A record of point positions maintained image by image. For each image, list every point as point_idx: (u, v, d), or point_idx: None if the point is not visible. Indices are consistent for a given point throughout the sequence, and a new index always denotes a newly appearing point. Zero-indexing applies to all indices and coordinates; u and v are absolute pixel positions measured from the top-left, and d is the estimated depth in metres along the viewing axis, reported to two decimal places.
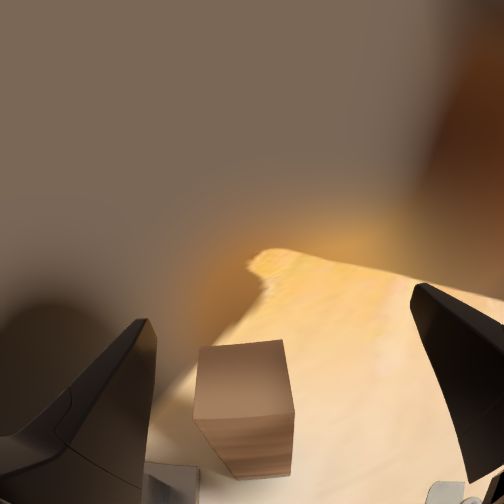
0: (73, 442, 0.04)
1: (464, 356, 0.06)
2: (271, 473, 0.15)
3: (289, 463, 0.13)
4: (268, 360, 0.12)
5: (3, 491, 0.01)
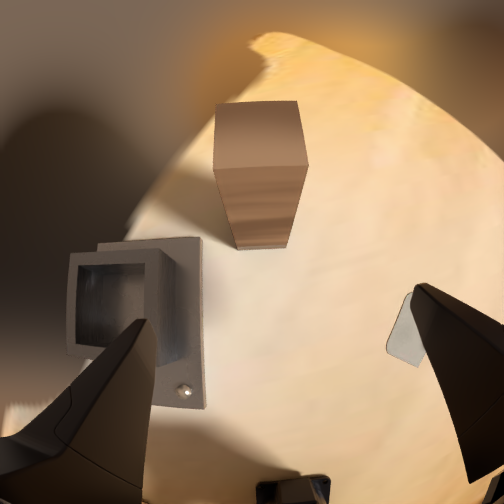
0: (73, 442, 0.04)
1: (464, 356, 0.06)
2: (270, 242, 0.22)
3: (289, 230, 0.19)
4: (284, 117, 0.12)
5: (3, 491, 0.01)
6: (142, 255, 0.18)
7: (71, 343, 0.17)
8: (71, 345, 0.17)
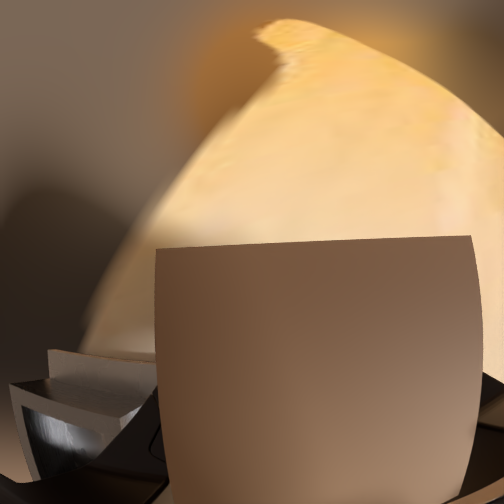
0: None
1: None
2: None
3: None
4: (442, 336, 0.03)
5: None
6: (97, 422, 0.09)
7: None
8: None
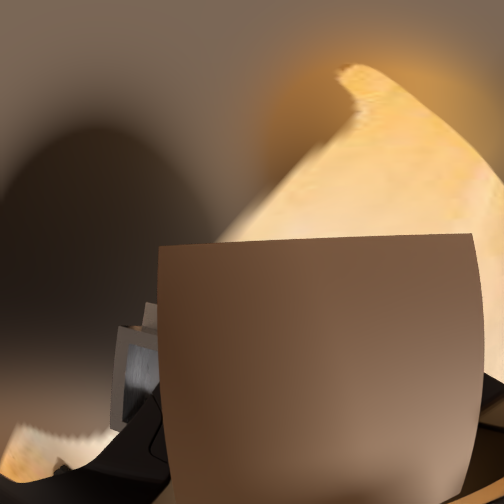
0: None
1: None
2: None
3: None
4: (445, 333, 0.03)
5: None
6: None
7: (117, 419, 0.15)
8: (117, 422, 0.15)
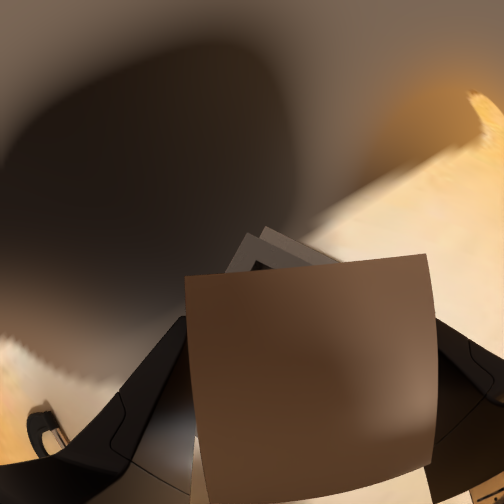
0: (133, 455, 0.04)
1: None
2: None
3: None
4: (399, 332, 0.04)
5: None
6: None
7: None
8: None
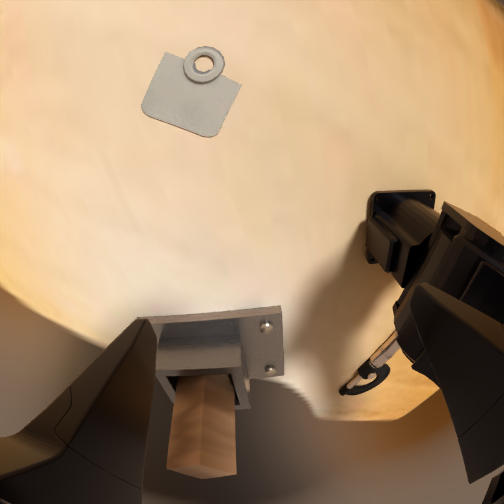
0: (73, 442, 0.04)
1: (464, 356, 0.06)
2: None
3: (205, 379, 0.22)
4: (183, 469, 0.16)
5: (3, 491, 0.01)
6: (161, 377, 0.23)
7: (240, 406, 0.26)
8: (242, 406, 0.26)
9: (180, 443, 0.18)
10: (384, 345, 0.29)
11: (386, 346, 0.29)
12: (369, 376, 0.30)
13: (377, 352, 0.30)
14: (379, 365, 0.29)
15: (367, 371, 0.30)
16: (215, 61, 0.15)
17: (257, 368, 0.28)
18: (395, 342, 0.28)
